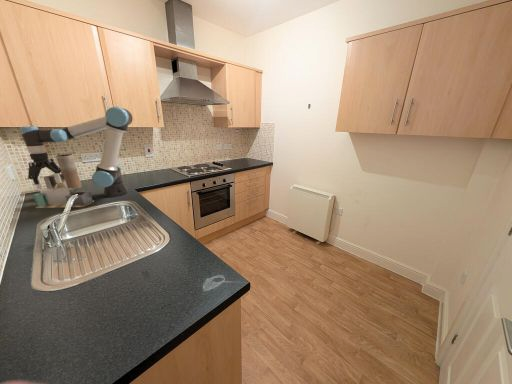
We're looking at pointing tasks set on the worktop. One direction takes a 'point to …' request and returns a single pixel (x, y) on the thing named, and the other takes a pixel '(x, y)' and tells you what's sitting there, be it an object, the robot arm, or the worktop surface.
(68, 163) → the vase
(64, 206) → the board
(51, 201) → the tube
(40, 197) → the socket
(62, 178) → the coffee box
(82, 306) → the worktop surface
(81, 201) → the sleeve
